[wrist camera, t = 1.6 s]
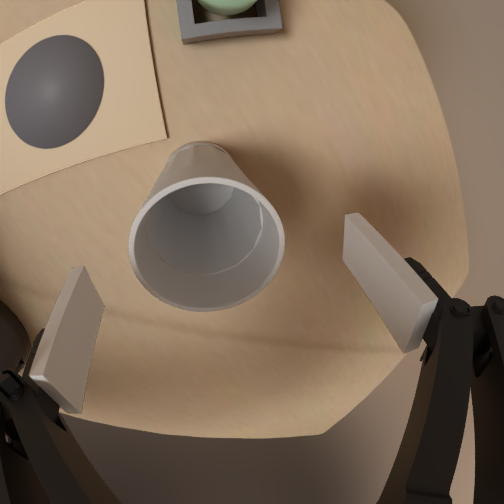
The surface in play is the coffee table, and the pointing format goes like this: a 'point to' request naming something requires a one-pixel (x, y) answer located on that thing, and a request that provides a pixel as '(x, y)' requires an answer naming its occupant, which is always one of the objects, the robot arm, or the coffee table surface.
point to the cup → (205, 233)
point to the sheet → (76, 90)
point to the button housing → (229, 23)
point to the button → (226, 6)
